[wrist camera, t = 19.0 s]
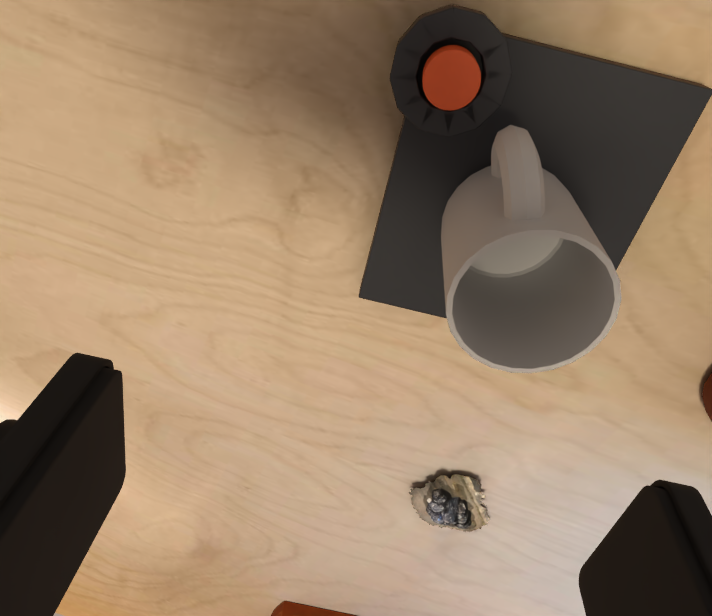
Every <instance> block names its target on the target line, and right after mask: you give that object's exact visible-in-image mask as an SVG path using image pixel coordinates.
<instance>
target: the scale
mask: <svg viewBox="0 0 712 616" xmlns="http://www.w3.org/2000/svg"><path fill="white" fill-rule="evenodd" d="M446 45H459V46H462V47H464V48H466V49H467V50H469V51H470V52H471V53H472V54H473V56H474V57H475V59H476V61H477V63H478V65H479V68H480V72H481V84H480V88H479V90H478V93H477V94H476V96H475V97H474V99H473V100H472V101H471V102H470V103H469V104H468V105H466V106H465V107H463V108H460V109H457V110H451V111H448V110H442V109H439V108H437V107H435V106H434V105H433V104H432V103H430V101H429V100H428V99H427V97H426V95H425V93H424V90H423V82H422V75H423V68H424V65H425V63H426V61H427V59H428V58H429V56H430V55H431V54H432V53H433V52H434V51H435V50H437V49H439V48H440V47H443V46H446ZM390 82H391V85H392V89H393V93H394V96H395V100H396V104H397V108H399V110H400V111H401V112H402V113H403V114H404V115H405V116H404V120H403V124H402V128H401V132H400V136H399V140H398V144H397V147H396V151H395V155H394V159H393V163H392V167H391V171H390V174H389V178H388V182H387V186H386V190H385V194H384V198H383V202H382V205H381V209H380V213H379V217H378V221H377V225H376V229H375V232H374V236H373V240H372V244H371V248H370V252H369V256H368V260H367V263H366V267H365V271H364V275H363V279H362V283H361V287H360V292H359V298H363V299H368V300H372V301H376V302H380V303H384V304H389V305H393V306H397V307H401V308H405V309H410V310H414V311H418V312H422V313H427V314H431V315H435V316H439V317H443V318H447V316H446V307H445V291H444V276H443V261H442V245H441V228H442V216H443V213H444V210H445V207H446V204H447V202H448V200H449V199H450V197H451V196H452V194H453V193H454V191H455V190H456V188H457V187H458V186H459V185H460V184H461V183H463V182H464V181H465V180H466V179H467V178H468V177H469V176H470V175H472V174H474V173H476V172H478V171H480V170H482V169H484V168H485V167H488V166H491V151H492V146H493V143H494V140H495V137H496V134H497V132H499V131H500V130H502V129H504V128H506V127H507V126H509V125H513V126H516V127H520V128H523V129H526V130H527V131H528V133H529V134H530V136H531V138H532V140H533V142H534V145H535V147H536V149H537V152H538V155H539V158H540V162H541V166H542V168H543V169H545V170H546V171H548V172H550V173H551V174H553V175H555V177H556V178H557V179H558V180H559V181H560V182H561V183H562V184H563V185H564V186H565V188H566V189H567V190H568V191H569V192H570V194H571V195H572V197H573V199H574V200H575V202H576V204H577V205H578V207H579V209H580V210H581V212H582V214H583V215H584V217H585V219H586V220H587V222H588V223H589V225H590V227H591V228H592V230H593V232H594V233H595V235H596V237H597V238H598V240H599V242H600V243H601V245H602V246H603V248H604V250H605V251H606V253H607V255H608V256H609V258H610V260H611V261H612V263H613V265H614V268H615V270H616V269H617V268H618V266H619V264H620V262H621V260H622V258H623V257H624V255H625V253H626V251H627V249H628V247H629V245H630V244H631V242H632V240H633V238H634V236H635V234H636V233H637V231H638V229H639V227H640V225H641V223H642V222H643V220H644V218H645V216H646V214H647V212H648V211H649V209H650V207H651V205H652V203H653V201H654V200H655V198H656V196H657V194H658V192H659V190H660V189H661V187H662V185H663V183H664V181H665V179H666V178H667V176H668V174H669V172H670V170H671V168H672V167H673V165H674V163H675V161H676V159H677V157H678V156H679V154H680V152H681V150H682V148H683V146H684V145H685V143H686V141H687V139H688V137H689V135H690V134H691V132H692V130H693V128H694V126H695V124H696V123H697V121H698V119H699V117H700V115H701V113H702V112H703V110H704V108H705V106H706V104H707V102H708V101H709V99H710V97H711V95H712V89H711V88H709V87H706V86H704V85H702V84H699V83H695V82H691V81H687V80H683V79H679V78H675V77H672V76H668V75H664V74H660V73H656V72H652V71H648V70H644V69H640V68H636V67H632V66H629V65H625V64H621V63H617V62H613V61H609V60H605V59H601V58H597V57H593V56H589V55H586V54H582V53H578V52H574V51H570V50H566V49H562V48H558V47H554V46H550V45H547V44H543V43H539V42H535V41H531V40H527V39H523V38H519V37H515V36H511V35H507V34H504V33H501V32H500V31H499V30H498V29H497V28H496V27H495V25H494V24H493V23H492V22H491V21H490V20H489V19H488V17H487V16H486V15H485V14H484V13H482V12H480V11H476V10H473V9H469V8H465V7H461V6H457V5H448V6H445V7H442V8H439V9H436V10H433V11H430V12H427V13H425V14H422V15H421V16H419V17H418V18H417V20H416V21H415V22H414V23H413V24H412V25H411V26H410V28H409V29H408V30H407V31H406V32H405V33H404V34H403V36H402V37H401V38H400V39H399V41H398V44H397V48H396V52H395V57H394V61H393V65H392V69H391V74H390Z"/></svg>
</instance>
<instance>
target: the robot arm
mask: <svg viewBox="0 0 712 616" xmlns="http://www.w3.org/2000/svg"><path fill="white" fill-rule="evenodd" d="M125 473H126V465H125V437H124V410H123V382H122V373H121V371H118V370H114V368H113V363H112V361H111V360H108V359H104V358H99V357H94V356H90V355H85V354H81V353H75V354H73V355H72V356H71V357H70V358H69V359H68V360H67V361H66V363H65V364H64V365H63V366H62V367H61V369H60V370H59V371H58V372H57V373H56V375H55V376H54V377H53V378H52V379H51V381H50V382H49V383H48V384H47V385H46V387H45V388H44V389H43V390H42V391H41V393H40V394H39V395H38V396H37V397H36V399H35V400H34V401H33V402H32V404H31V405H30V406H29V407H28V408H27V410H26V411H25V412H24V413H23V414H22V416H21V417H20V418H19V419H18V420H5V421H3V422H1V423H0V616H53V615H54V613H55V611H56V609H57V608H58V606H59V604H60V602H61V600H62V598H63V596H64V595H65V593H66V591H67V589H68V587H69V585H70V583H71V582H72V580H73V578H74V576H75V574H76V572H77V570H78V569H79V567H80V565H81V563H82V561H83V559H84V557H85V556H86V554H87V552H88V550H89V548H90V546H91V544H92V543H93V541H94V539H95V537H96V535H97V533H98V531H99V529H100V528H101V526H102V524H103V522H104V520H105V518H106V516H107V515H108V513H109V511H110V509H111V507H112V505H113V503H114V502H115V500H116V498H117V496H118V494H119V492H120V490H121V488H122V485H123V482H124V479H125ZM579 588H580V592H581V596H582V600H583V604H584V608H585V612H586V616H712V516H711V514H710V512H709V510H708V508H707V506H706V504H705V502H704V500H703V498H702V496H701V494H700V493H699V492H698V490H697V489H695V488H694V487H691V486H687V485H682V484H678V483H673V482H668V481H664V480H657V481H655V482H654V483H653V484H652V485H651V486H645V487H644V488H643V489H642V490H641V491H640V492H639V493H638V495H637V496H636V497H635V499H634V500H633V501H632V503H631V504H630V505H629V506H628V508H627V509H626V510H625V512H624V513H623V514H622V516H621V517H620V518H619V519H618V521H617V522H616V523H615V525H614V526H613V527H612V529H611V530H610V531H609V532H608V534H607V535H606V536H605V538H604V539H603V540H602V542H601V543H600V544H599V546H598V547H597V548H596V549H595V551H594V552H593V553H592V555H591V556H590V557H589V559H588V560H587V561H586V562H585V564H584V565H583V566H582V568H581V570H580V574H579Z"/></svg>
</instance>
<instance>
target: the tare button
mask: <svg viewBox="0 0 712 616" xmlns="http://www.w3.org/2000/svg"><path fill="white" fill-rule="evenodd" d="M422 82H423V90H424V93H425V95H426V97H427V99H428V100H429V101H430V103H432V104H433V105H434V106H435V107H437V108H439V109H442V110H448V111H451V110H457V109H460V108H463V107H465V106H466V105H468V104H469V103H470V102H471V101H472V100H473V99H474V97H475V96H476V94H477V93H478V90H479V88H480V84H481V72H480V68H479V65H478V63H477V61H476V59H475V57H474V56H473V54H472V53H471V52H470V51H469V50H467V49H466V48H464V47H462V46H459V45H446V46H443V47H440V48H439V49H437V50H435V51H434V52H433V53H432V54H431V55H430V56H429V58H428V59H427V61H426V63H425V65H424V68H423V75H422Z"/></svg>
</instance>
